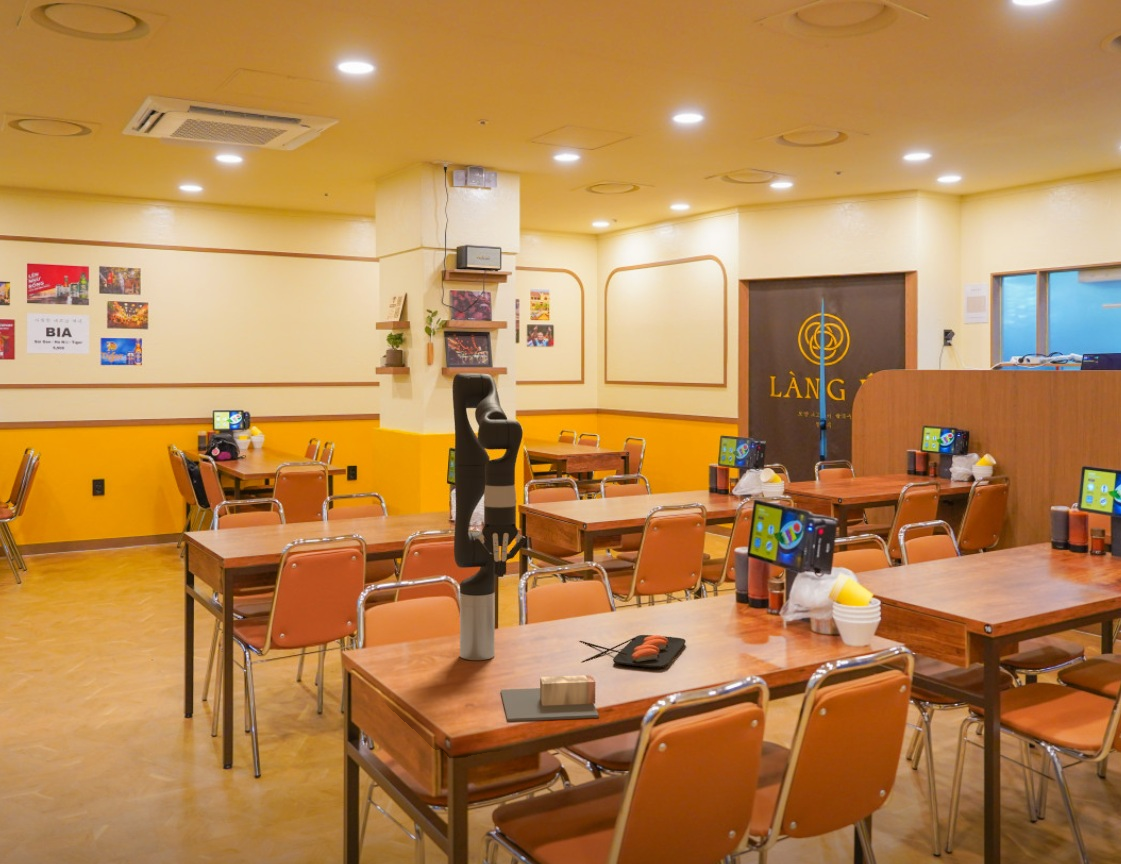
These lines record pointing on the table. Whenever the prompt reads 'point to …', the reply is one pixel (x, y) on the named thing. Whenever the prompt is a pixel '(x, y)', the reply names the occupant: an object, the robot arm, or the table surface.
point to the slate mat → (541, 707)
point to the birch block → (567, 690)
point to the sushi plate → (645, 651)
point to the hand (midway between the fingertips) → (499, 576)
